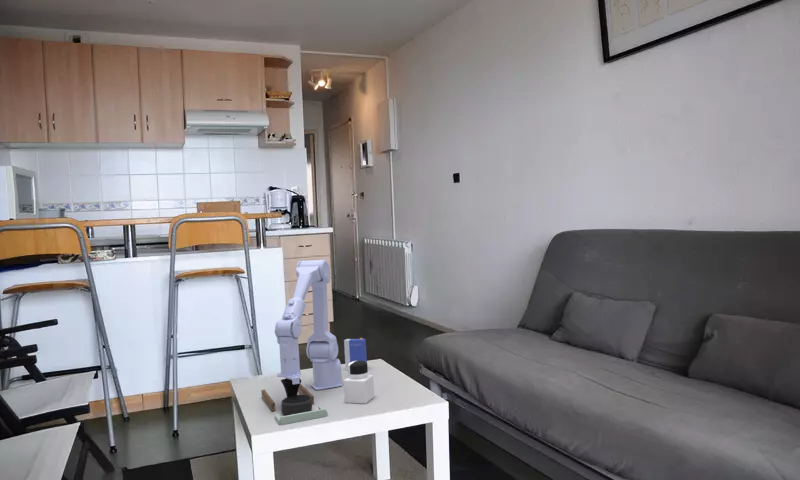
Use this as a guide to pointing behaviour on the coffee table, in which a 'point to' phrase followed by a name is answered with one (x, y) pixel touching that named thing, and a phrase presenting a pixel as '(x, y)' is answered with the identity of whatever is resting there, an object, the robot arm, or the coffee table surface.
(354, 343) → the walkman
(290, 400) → the smart speaker
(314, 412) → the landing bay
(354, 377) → the medicine bottle
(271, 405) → the chute
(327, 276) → the robot arm
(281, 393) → the coffee table surface
